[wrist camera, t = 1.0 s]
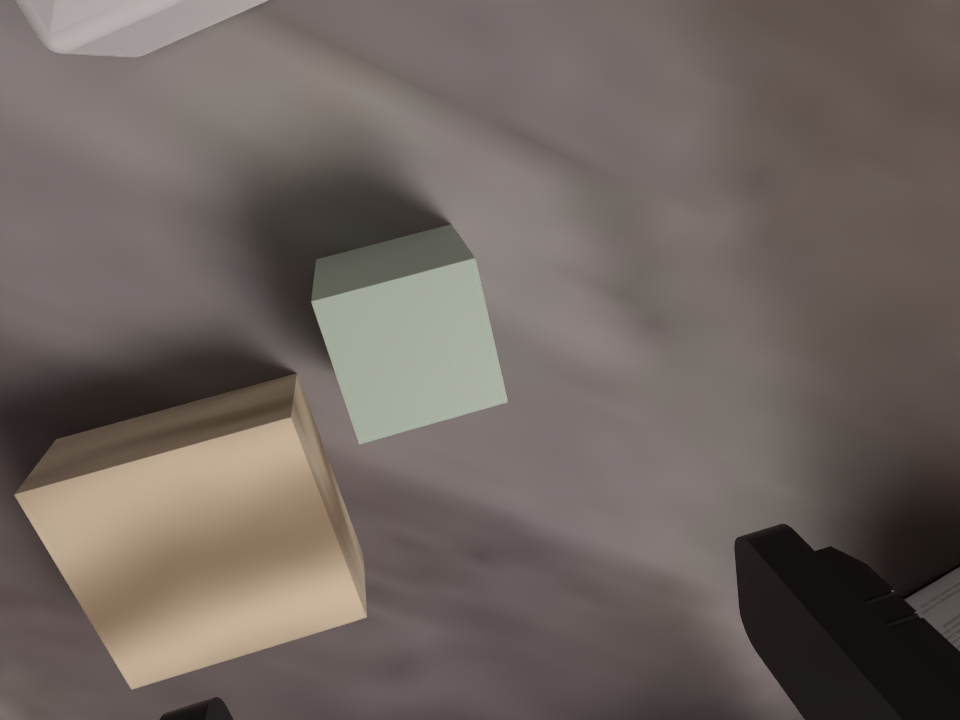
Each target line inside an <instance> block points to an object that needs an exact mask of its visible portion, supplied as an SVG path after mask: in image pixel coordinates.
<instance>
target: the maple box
mask: <svg viewBox="0 0 960 720" xmlns="http://www.w3.org/2000/svg"><path fill="white" fill-rule="evenodd" d="M14 495H15V497H16V499H17V500H18V502H19V504H20V505H21V507H22V509H23V510H24V512H25V514H26V515H27V517H28V519H29V520H30V522H31V524H32V525H33V527H34V529H35V530H36V532H37V534H38V535H39V537H40V539H41V540H42V542H43V544H44V545H45V547H46V549H47V550H48V552H49V554H50V555H51V557H52V559H53V560H54V562H55V563H56V565H57V567H58V568H59V570H60V572H61V573H62V575H63V577H64V578H65V580H66V582H67V583H68V585H69V587H70V588H71V590H72V592H73V593H74V595H75V597H76V598H77V600H78V602H79V603H80V605H81V607H82V608H83V610H84V612H85V613H86V615H87V617H88V618H89V620H90V622H91V623H92V625H93V627H94V628H95V630H96V632H97V633H98V635H99V636H100V638H101V640H102V641H103V643H104V645H105V646H106V648H107V650H108V651H109V653H110V655H111V656H112V658H113V660H114V661H115V663H116V665H117V666H118V668H119V670H120V671H121V673H122V675H123V676H124V678H125V680H126V681H127V683H128V685H129V686H130V688H131V690H132V689H135V688H138V687H142V686H145V685H148V684H151V683H155V682H158V681H161V680H164V679H168V678H171V677H174V676H177V675H181V674H184V673H187V672H191V671H194V670H197V669H200V668H204V667H207V666H210V665H213V664H217V663H220V662H223V661H226V660H230V659H233V658H236V657H240V656H243V655H246V654H249V653H253V652H256V651H259V650H262V649H266V648H269V647H272V646H275V645H279V644H282V643H285V642H289V641H292V640H295V639H298V638H302V637H305V636H308V635H311V634H315V633H318V632H321V631H324V630H328V629H331V628H334V627H338V626H341V625H344V624H347V623H351V622H354V621H357V620H360V619H364V618H367V613H366V593H365V574H364V556H363V554H362V551H361V548H360V545H359V543H358V540H357V537H356V534H355V532H354V529H353V526H352V523H351V521H350V518H349V515H348V512H347V510H346V507H345V504H344V501H343V499H342V496H341V493H340V490H339V488H338V485H337V482H336V479H335V477H334V474H333V471H332V468H331V466H330V463H329V460H328V457H327V455H326V452H325V449H324V446H323V444H322V441H321V438H320V435H319V433H318V430H317V427H316V425H315V422H314V419H313V416H312V414H311V411H310V408H309V405H308V403H307V400H306V397H305V394H304V392H303V389H302V386H301V383H300V381H299V378H298V375H297V373H296V374H292V375H289V376H285V377H281V378H278V379H274V380H270V381H267V382H263V383H260V384H256V385H252V386H249V387H245V388H241V389H238V390H234V391H230V392H227V393H223V394H219V395H216V396H212V397H208V398H205V399H201V400H197V401H194V402H190V403H187V404H183V405H179V406H176V407H172V408H168V409H165V410H161V411H157V412H154V413H150V414H146V415H143V416H139V417H135V418H132V419H128V420H125V421H121V422H117V423H114V424H110V425H106V426H103V427H99V428H95V429H92V430H88V431H84V432H81V433H77V434H73V435H70V436H66V437H63V438H59V439H56V440H55V441H54V443H53V444H52V445H51V447H50V448H49V449H48V451H47V452H46V453H45V455H44V456H43V457H42V458H41V460H40V461H39V462H38V464H37V465H36V466H35V468H34V469H33V470H32V472H31V473H30V474H29V476H28V477H27V478H26V479H25V481H24V482H23V483H22V485H21V486H20V487H19V489H18V490H17V491H16V493H15V494H14Z"/></svg>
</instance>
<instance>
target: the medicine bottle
mask: <svg viewBox="0 0 960 720" xmlns="http://www.w3.org/2000/svg"><path fill="white" fill-rule="evenodd" d="M266 1H268V0H15V2H16V3H17V5H18V6H19V8H20V10H21V11H22V13H23V14H24V16H25V18H26V19H27V21H28V23H29V24H30V26H31V27H32V29H33V31H34V32H35V34H36V35H37V37H38V39H39V40H40V41H41V42H42V44H43V45H44V46H45V47H46V48H47V49H48V50H51V51H53V52H56V53H61V54H80V55H100V56H119V57H141V56H143V55H146V54H148V53H150V52H153V51H155V50H157V49H159V48H162V47H164V46H166V45H168V44H171V43H173V42H175V41H177V40H180V39H182V38H184V37H187V36H189V35H191V34H193V33H196V32H198V31H200V30H202V29H205V28H207V27H209V26H211V25H214V24H216V23H218V22H220V21H223V20H225V19H227V18H230V17H232V16H234V15H236V14H239V13H241V12H243V11H245V10H248V9H250V8H252V7H254V6H257V5H259V4H261V3H264V2H266Z"/></svg>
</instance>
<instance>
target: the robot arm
mask: <svg viewBox="0 0 960 720" xmlns="http://www.w3.org/2000/svg"><path fill="white" fill-rule="evenodd" d="M735 560H736V573H737V585H738V598H739V609H740V615H741V619H742V623H743V625H744V628H745V631H746V633H747V635H748V638H749V640H750V642H751V644H752V645H753V647H754V649H755V650H756V652H757V653H758V655H759V656H760V658H761V659H762V660H763V662H764V663H765V665H766V666H767V667H768V669H769V670H770V672H771V673H772V674H773V676H774V677H775V679H776V680H777V681H778V683H779V684H780V685H781V687H782V688H783V690H784V691H785V692H786V694H787V695H788V697H789V698H790V699H791V701H792V702H793V704H794V705H795V706H796V708H797V709H798V711H799V712H800V713H801V715H802V716H803V718H804V719H805V720H960V651H959V650H958V649H956V648H955V647H954V646H953V645H952V644H951V643H950V642H949V641H948V640H947V639H946V638H945V637H944V636H943V635H942V634H940V633H939V632H938V631H937V630H936V629H935V628H934V627H933V626H932V625H931V624H930V623H929V622H928V621H927V620H926V619H924V618H920V617H919V616H918V613H917V611H916V610H915V609H914V608H913V607H912V606H911V605H910V604H908V603H907V602H906V601H905V600H904V599H903V598H902V597H901V596H900V595H899V596H897V595H896V594H895V592H894V589H892V588H891V587H890V586H889V585H888V584H887V583H886V582H885V581H884V580H883V579H882V578H881V577H880V576H879V575H878V574H876V573H875V572H874V571H873V570H872V569H871V568H870V567H869V566H868V565H867V564H865V563H863V562H861V561H859V560H857V559H855V558H853V557H851V556H849V555H847V554H845V553H843V552H841V551H839V550H837V549H835V548H833V547H831V546H830V547H827V548H824V549H821V550H818V551H814V550H813V549H812V548H811V547H810V546H809V545H808V544H807V543H806V542H805V541H804V540H803V539H802V538H801V537H800V536H799V535H798V534H797V533H796V532H795V531H794V530H793V529H792V528H791V527H789V526H788V525H786V524H779V525H776V526H773V527H770V528H767V529H763V530H760V531H757V532H754V533H750V534H747V535H744V536H741V537H738V538H737V539H736V540H735ZM160 720H233V718H232V716H231V714H230V712H229V710H228V709H227V707H226V705H225V703H224V702H223V701H222V699H220V698H218V697H215V698H212V699H208V700H205V701H202V702H199V703H196V704H192V705H189V706H186V707H183V708H179V709H176V710H173V711H170V712H166V713H165V714H163V715H162V717H161V718H160Z"/></svg>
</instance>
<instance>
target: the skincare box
mask: <svg viewBox="0 0 960 720" xmlns="http://www.w3.org/2000/svg"><path fill="white" fill-rule="evenodd" d="M904 600H905V601H906V602H907V603H908V604H910V605H911V606H912V607H913V608H914V609H915V610H916V611H917V613H918V616H919V617H920V618H924V619H926V620H927V621H928V622H929V623H930V624H931V625H932V626H933V627H934V628H935V629H936V630H937V631H938V632H939V633H940V634H942V635H943V636H944V637H945V638H946V639H947V640H948V641H949V642H950V643H951V644H952V645H953V646H954V647H955V648H956V649H958V650H959V651H960V567H958V568H957V569H955V570H953V571H952V572H950V573H948V574H947V575H945V576H943V577H942V578H940V579H938V580H937V581H935V582H933V583H931V584H930V585H928V586H926V587H925V588H923V589H921V590H920V591H918V592H916V593H915V594H913V595H911V596H909V597H908V598H906V599H904Z"/></svg>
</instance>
